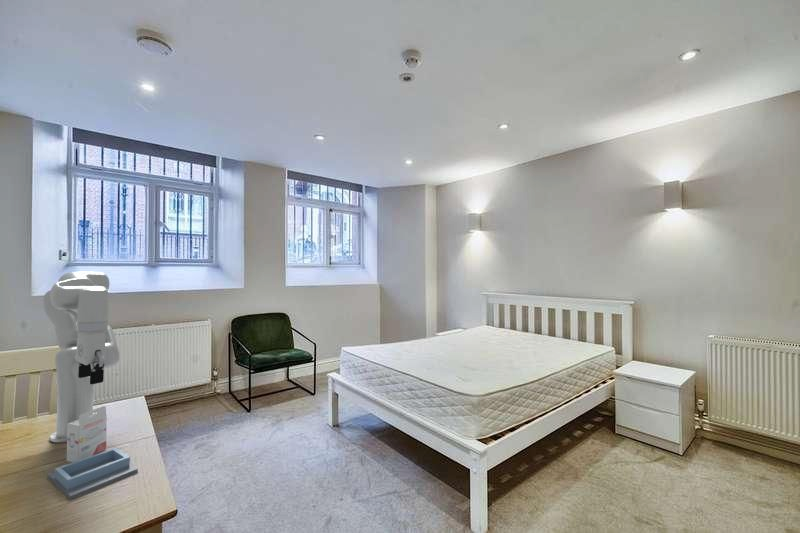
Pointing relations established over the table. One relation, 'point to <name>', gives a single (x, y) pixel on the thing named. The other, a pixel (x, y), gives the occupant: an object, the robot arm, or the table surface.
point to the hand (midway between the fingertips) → (90, 379)
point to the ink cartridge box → (87, 435)
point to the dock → (92, 472)
